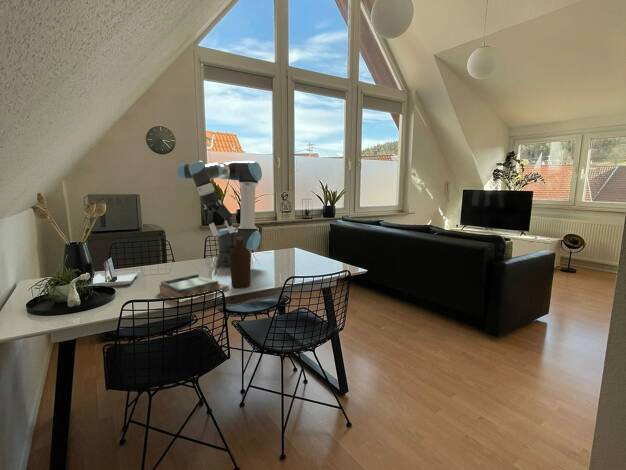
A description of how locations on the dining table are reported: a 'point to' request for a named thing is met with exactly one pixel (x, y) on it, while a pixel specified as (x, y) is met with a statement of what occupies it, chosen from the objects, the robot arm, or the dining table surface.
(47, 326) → the dining table surface
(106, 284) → the salad plate
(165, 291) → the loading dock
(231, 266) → the olive oil
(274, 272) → the dining table surface
